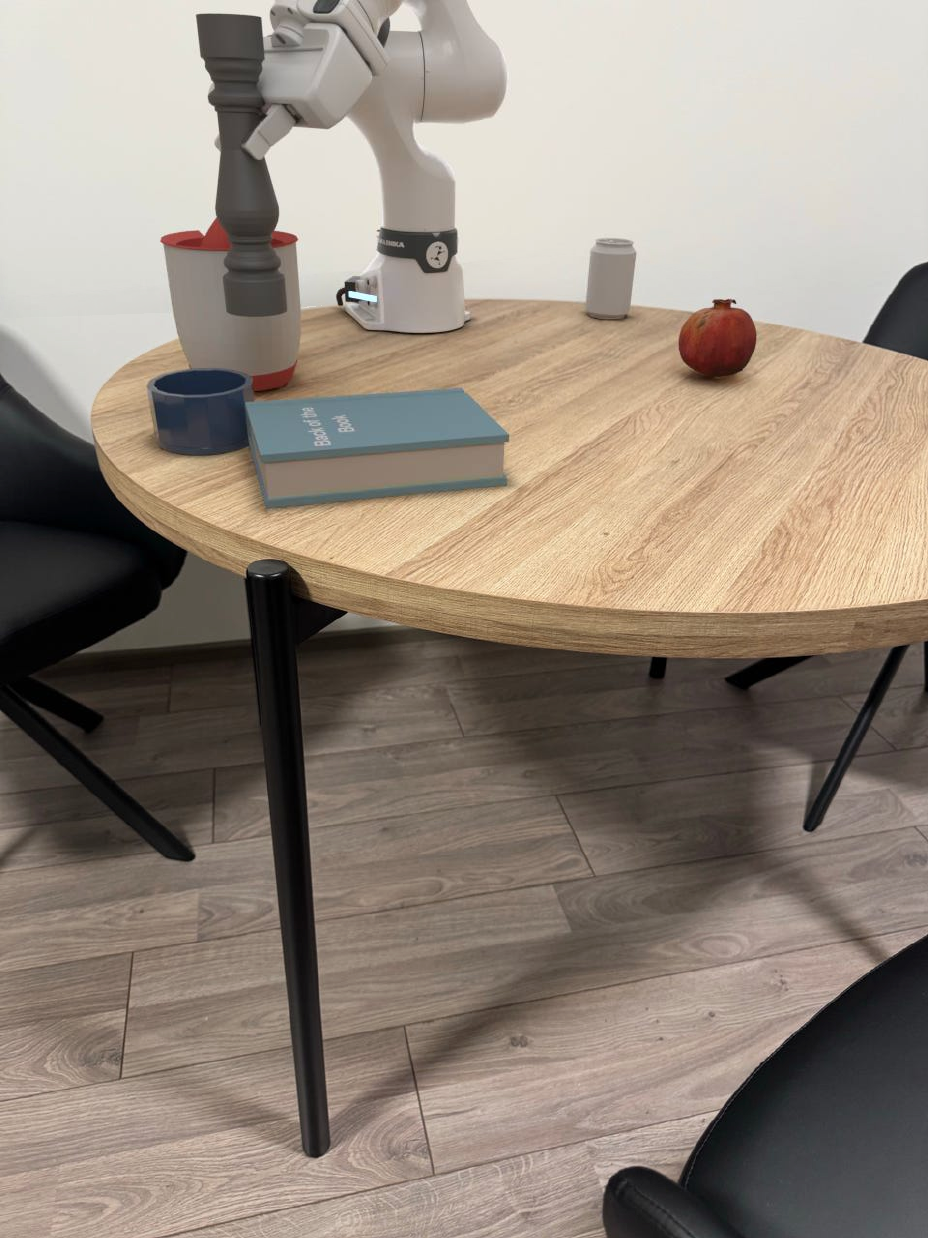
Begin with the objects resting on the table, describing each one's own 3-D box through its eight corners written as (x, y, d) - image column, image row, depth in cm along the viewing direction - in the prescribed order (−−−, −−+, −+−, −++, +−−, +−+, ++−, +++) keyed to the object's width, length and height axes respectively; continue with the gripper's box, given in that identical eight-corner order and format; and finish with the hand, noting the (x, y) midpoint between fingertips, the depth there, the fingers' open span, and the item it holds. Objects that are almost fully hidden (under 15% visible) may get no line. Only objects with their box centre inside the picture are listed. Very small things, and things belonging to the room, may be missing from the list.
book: (266, 508, 78) (260, 454, 75) (249, 446, 91) (244, 399, 88) (506, 485, 84) (509, 434, 81) (458, 430, 97) (459, 385, 94)
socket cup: (145, 430, 94) (136, 375, 91) (239, 416, 99) (233, 363, 96) (171, 461, 87) (162, 402, 84) (272, 445, 91) (266, 388, 88)
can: (628, 321, 145) (637, 243, 139) (582, 318, 146) (589, 241, 140) (629, 312, 151) (638, 237, 145) (586, 309, 153) (593, 235, 146)
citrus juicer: (293, 358, 121) (280, 198, 110) (319, 394, 107) (308, 215, 96) (175, 366, 116) (150, 200, 106) (187, 405, 102) (160, 217, 92)
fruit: (718, 392, 111) (732, 310, 106) (657, 374, 118) (668, 296, 113) (767, 378, 117) (782, 300, 112) (706, 362, 124) (718, 288, 119)
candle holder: (222, 305, 91) (189, 16, 79) (281, 302, 93) (258, 19, 81) (230, 318, 87) (196, 11, 74) (293, 314, 88) (270, 15, 76)
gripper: (241, 9, 87) (163, 121, 87) (357, -4, 74) (265, 129, 73) (285, 63, 92) (210, 170, 91) (401, 61, 79) (314, 186, 78)
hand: (235, 152), depth 82 cm, fingers closed on candle holder, 4 cm apart
